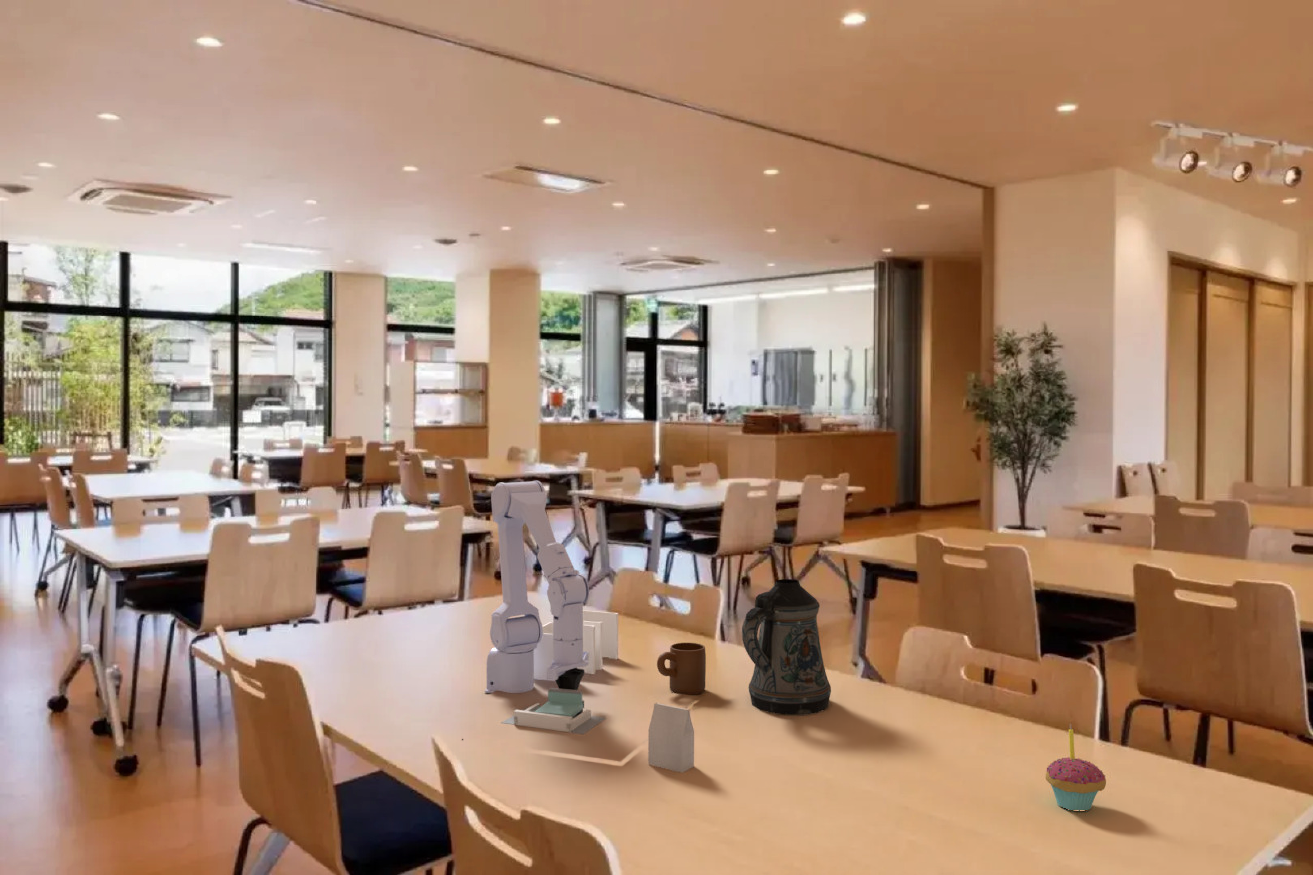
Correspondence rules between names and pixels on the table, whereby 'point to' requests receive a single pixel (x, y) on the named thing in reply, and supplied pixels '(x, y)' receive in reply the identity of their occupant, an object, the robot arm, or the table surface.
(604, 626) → the storage container
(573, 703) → the trolley
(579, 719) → the dock
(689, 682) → the mug
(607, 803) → the table surface
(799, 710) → the beer stein
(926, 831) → the table surface
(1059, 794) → the cupcake
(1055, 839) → the table surface
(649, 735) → the light grey paper bag
